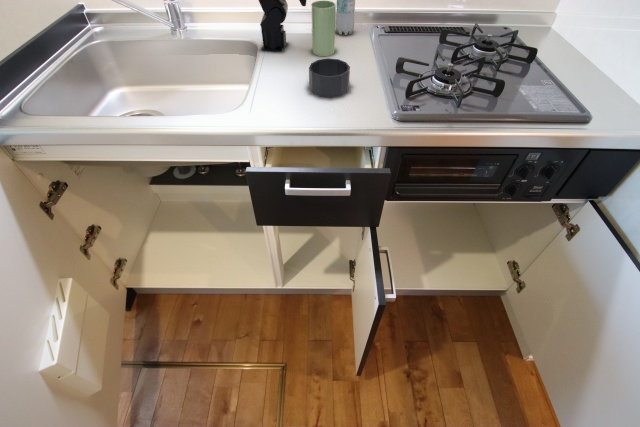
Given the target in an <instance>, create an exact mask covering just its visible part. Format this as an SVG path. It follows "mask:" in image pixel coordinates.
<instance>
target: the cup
mask: <svg viewBox="0 0 640 427" xmlns="http://www.w3.org/2000/svg"><path fill="white" fill-rule="evenodd" d="M310 8H311V9H310V10H311V11H310V12H311V49H312V54H313V55H315V56H318V57H328V56H331V55H333V54H334V53H335V48H336V47H335V46H336V45H335V44H336V26H335V24H336V10H337V3H335V2H334V1H331V0H316V1H313V2H312V3H311V5H310Z"/></svg>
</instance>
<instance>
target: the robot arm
mask: <svg viewBox="0 0 640 427" xmlns="http://www.w3.org/2000/svg"><path fill="white" fill-rule="evenodd" d="M298 1H299V4H300V5H301V7H306V6H307V0H298ZM258 2H259V5H260V7H261V10H262V11H263V15H262V18H261V21H260V24H259V25H260V31H261V38H262V47H261V51H268V52H280V53H281V52H282V51H283V50H284V48H286V46H287V44H288V43H287V33H286V30H285V28H284V27H285V26H284V24H283V23H284V22H285V20H286V18H287V14H288V10H289V9H288V8H289V4H288V2H287V0H258Z"/></svg>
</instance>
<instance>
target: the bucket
mask: <svg viewBox="0 0 640 427" xmlns="http://www.w3.org/2000/svg"><path fill="white" fill-rule="evenodd" d="M350 72H351V66H350V65H349V64H348V62H346V61H344V60H341V59H339V58H330V57H327V58H322V59H317V60H315V61H313V62H311V63H310V65H309V67H308V85H309V86H308V88H309V90H310V92H311V93H312V94H313V95H315V96H317V97H320V98H328V99H333V98H337V97H342V96H343V95H345V94H346V93H348V91H349V88H350V74H351V73H350Z"/></svg>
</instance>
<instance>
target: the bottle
mask: <svg viewBox="0 0 640 427" xmlns="http://www.w3.org/2000/svg"><path fill="white" fill-rule="evenodd" d="M355 8H356V0H336V14H335V33H337V34H339V35H340V36H341V35H343V33H344V36H347V35H352V33H353V31H354V29H355V10H356V9H355Z"/></svg>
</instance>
